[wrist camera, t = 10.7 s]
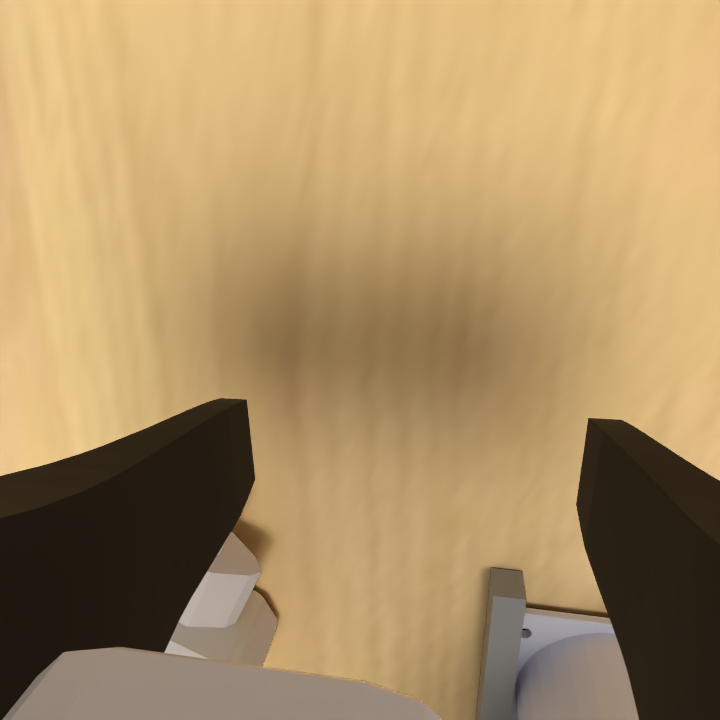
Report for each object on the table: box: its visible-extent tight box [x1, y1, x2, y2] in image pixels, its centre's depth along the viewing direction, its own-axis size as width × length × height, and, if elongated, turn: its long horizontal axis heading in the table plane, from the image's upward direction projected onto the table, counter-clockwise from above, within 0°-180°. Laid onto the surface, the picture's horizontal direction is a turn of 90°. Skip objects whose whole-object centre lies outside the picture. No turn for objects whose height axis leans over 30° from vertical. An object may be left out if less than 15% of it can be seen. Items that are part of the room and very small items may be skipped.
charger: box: [164, 532, 277, 666], centre depth 23 cm, size 5×9×15 cm
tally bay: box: [476, 568, 526, 720], centre depth 26 cm, size 13×26×2 cm, turn 91°
